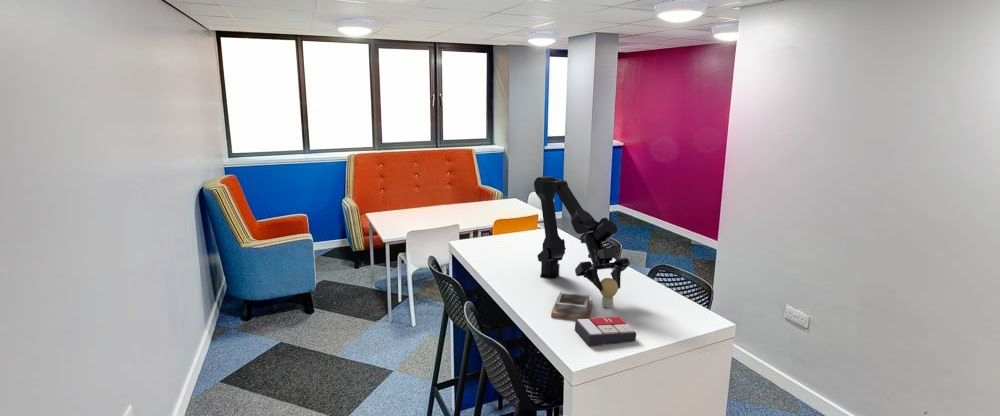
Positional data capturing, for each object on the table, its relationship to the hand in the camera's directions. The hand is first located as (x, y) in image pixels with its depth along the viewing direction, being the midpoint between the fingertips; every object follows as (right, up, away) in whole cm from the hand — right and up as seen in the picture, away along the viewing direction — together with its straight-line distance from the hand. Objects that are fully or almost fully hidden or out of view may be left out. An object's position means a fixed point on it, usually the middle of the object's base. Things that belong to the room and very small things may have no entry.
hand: (610, 289), depth 173 cm
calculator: (-6, -11, -18) cm, 22 cm away
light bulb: (-1, -6, +3) cm, 7 cm away
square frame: (-13, -7, -1) cm, 15 cm away
